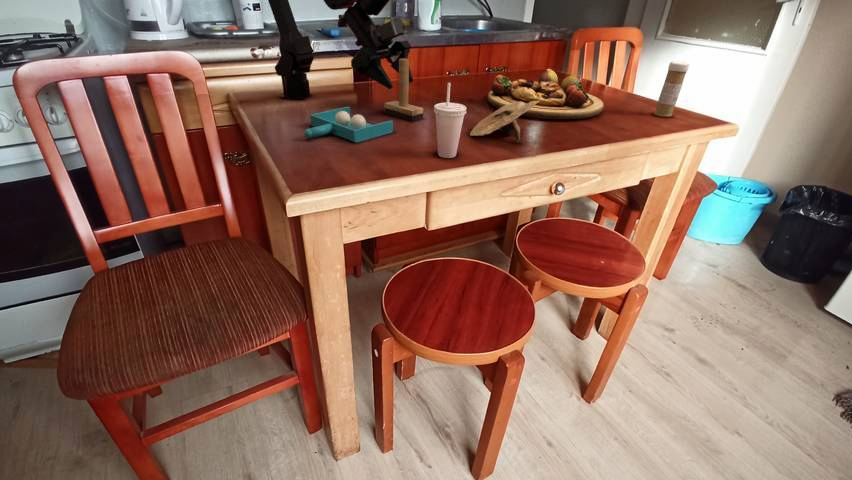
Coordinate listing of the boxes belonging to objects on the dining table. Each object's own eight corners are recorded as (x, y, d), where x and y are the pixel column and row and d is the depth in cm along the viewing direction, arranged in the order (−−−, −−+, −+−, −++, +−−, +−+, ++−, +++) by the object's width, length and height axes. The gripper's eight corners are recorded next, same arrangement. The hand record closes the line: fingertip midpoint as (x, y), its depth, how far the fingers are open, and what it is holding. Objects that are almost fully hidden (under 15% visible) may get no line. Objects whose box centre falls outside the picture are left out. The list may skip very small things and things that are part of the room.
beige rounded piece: (350, 124, 108) (338, 131, 106) (341, 110, 106) (329, 117, 105) (355, 120, 104) (344, 128, 103) (347, 106, 103) (335, 113, 102)
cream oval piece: (361, 132, 105) (349, 133, 103) (357, 117, 105) (345, 117, 103) (370, 127, 103) (358, 128, 100) (366, 111, 102) (353, 112, 100)
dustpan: (349, 117, 113) (348, 106, 111) (393, 132, 104) (393, 120, 103) (285, 132, 102) (283, 120, 100) (328, 150, 93) (327, 137, 91)
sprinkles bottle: (662, 112, 125) (679, 60, 118) (675, 117, 122) (694, 63, 114) (649, 113, 124) (666, 60, 116) (662, 118, 120) (680, 64, 113)
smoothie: (429, 149, 95) (433, 79, 87) (459, 149, 96) (465, 79, 88) (433, 160, 90) (437, 86, 82) (464, 160, 90) (471, 87, 82)
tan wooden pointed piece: (463, 157, 110) (453, 126, 107) (510, 135, 113) (502, 105, 111) (504, 154, 93) (493, 117, 91) (558, 128, 97) (548, 93, 95)
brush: (412, 121, 111) (413, 63, 104) (384, 113, 117) (383, 57, 109) (422, 118, 114) (425, 61, 106) (395, 110, 119) (395, 55, 112)
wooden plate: (473, 112, 120) (476, 79, 116) (501, 88, 145) (504, 60, 140) (598, 128, 111) (607, 93, 106) (604, 100, 135) (612, 70, 131)
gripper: (358, 6, 97) (400, 68, 99) (405, 3, 110) (441, 57, 112) (333, 43, 105) (372, 99, 107) (379, 35, 118) (414, 86, 120)
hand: (401, 84), depth 111 cm, fingers open, 9 cm apart
